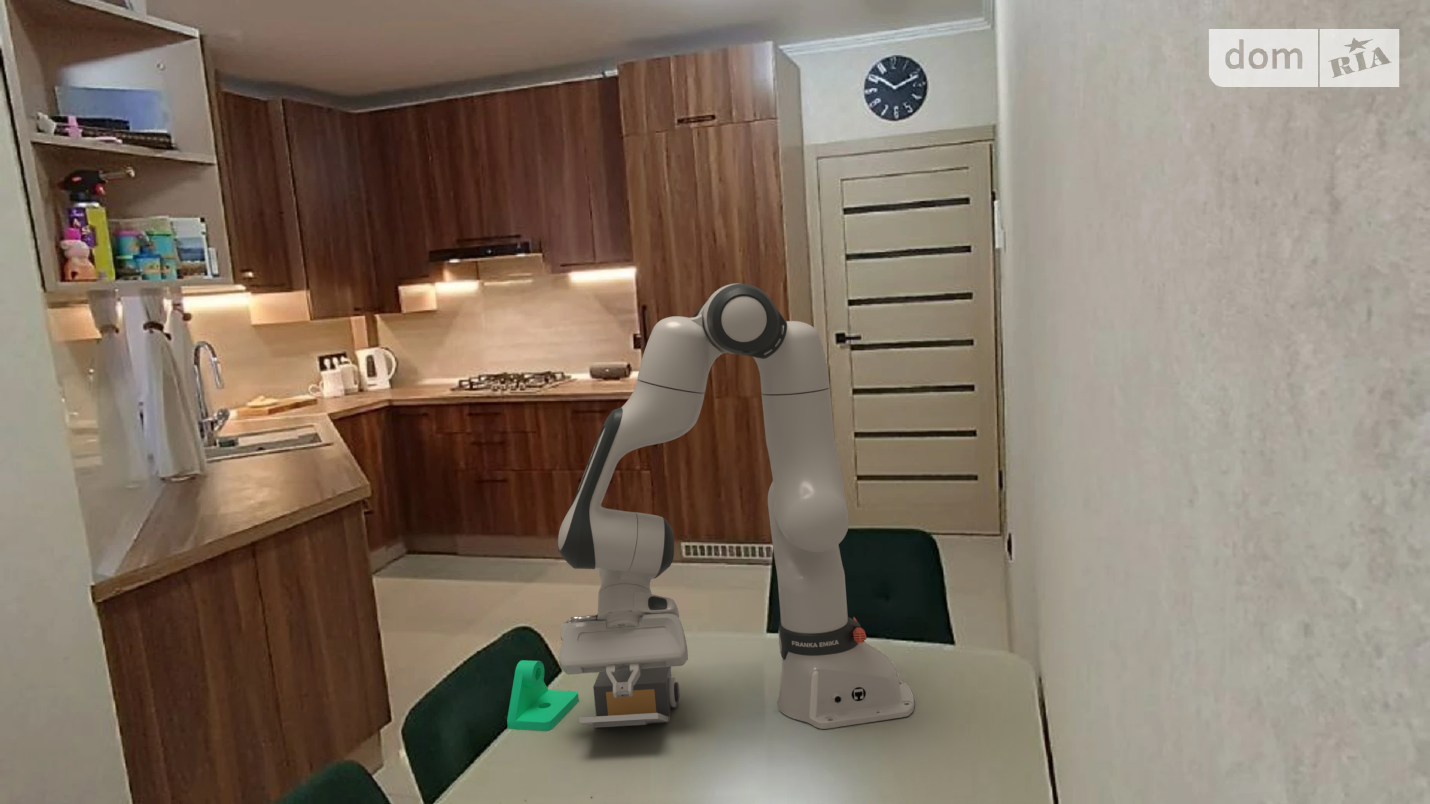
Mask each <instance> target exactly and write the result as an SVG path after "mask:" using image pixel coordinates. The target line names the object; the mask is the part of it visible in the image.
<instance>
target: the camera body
mask: <svg viewBox="0 0 1430 804" xmlns="http://www.w3.org/2000/svg"><path fill="white" fill-rule="evenodd" d="M630 676H631V672H630V670H621V671H617V677H614V678H615V680H616V681H617V683H620V682H627V681H628V679H629V678H630ZM592 688H593V698H594V699H593V700H594V707H595V717H596V716H613V715H630V714H647V713H659V714H662V715H664V716H670V717H671V709H672V708H677V704H678V703H679V702H680V685H679V682H678V681H677V680H676V677H675V676H674V677H673V676H672V667H660V668H647V669H641V674H640V677H639V678H638V680H637V682H636V683H635V685H634V686H633V696H627V697H615V698H614V696H613V684H612V683H611V681H610V679H609V677H608V675H607V673H606V672H598V675H597V677H596V679H595V683H594V684H593V687H592Z"/></svg>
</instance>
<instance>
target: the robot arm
mask: <svg viewBox="0 0 1430 804" xmlns="http://www.w3.org/2000/svg"><path fill="white" fill-rule="evenodd" d="M648 337H649V338H648V340H647V342H646V346H645V349H644V352H643V355H642V356H641V357H642V359H641V361H640V365H639V369H638V372H637V379H636V382H635V386H634V388H633V391H632V392H631V395H630V397H629V398H628V399H627V401H626V402H625V403H624V404H623V405H622V406H621V407H619V408H615V409H612V411H610V413H609V414H608V416H607V418H606V419H605V421H604V424H603V425H602V427H601V430H600V432H599V434H598V436H597V439H596V441H595V444H594V447H593V448H592V452H591V454H590V456H589V459H588V462H587V465H586V467H585V470H584V472H583V475H582V477H581V480H580V482H579V485H578V488H577V490H576V493H575V495H574V498H573V500H572V503H571V504H570V506H569V509H568V510H567V513H566V515H565V517H564V519H563V520H562V522H561V525H560V527H559V532H558V538H557V545H558V546H557V550H558V553H559V554H560V556H561V557H562V558H563V559H564V561H566V563H567V564H568V565H569V566H570V567H572V568H573V569H574V570H575V569H576V570H577V569H578V570H580V569H581V570H595V569H597V570H599V571H598V572H599V574H598V575H599V577H600V588H599V590H598V596H597V597H598V598H597V614H589V615H584V616H578V615H575V616H572V617H570V619H567V620H566V621H564V622H563V623H562V625H561V627H560V639H561V645H560V649H559V656H558V664H559V666H560V668H561V669H562V671H563V672H564V673H565V674H566V675H581V674H593V673H599V672H606V673H607V675H608V677H609V679H610V681H611V683H612V684H613V696H614V698H615V697H627V696H633V686H634V685H635V683H636V682H637V680H638V678H639V677H640V674H641V669H647V668H660V667H671V668H672V667H683V666H684V665H685V664H686V663H687V662H688V660H689V654H688V652H689V651H688V644H687V639H686V635H685V630H684V627H683V624H682V621H681V620H680V613H679V609H678V606H677V603H676V602H675V600H674V599H672V598H670V597H666V596H661V595H656V594H652V591H651V582H652V581H651V580H654V579H657V578H658V577H659V576H661V575H662V574H663V573H665V571H666V570H667V569H668V568H670V567H671V565H672V563H673V561H674V556H675V531H674V530H673V527H672V526H671V524H670V523H669V521H668V520H667V519H666V518H665V517H664V516H660V515H656V514H652V513H651V514H650V513H644V512H637V511H634V512H633V511H625V510H619V509H612V508H606V507H603V506H602V503H603V501H604V499H605V496H606V494H607V493H606V492H607V490H608V487H609V485H610V482H611V481H612V477H613V475H614V472H615V470H616V468H617V464H618V463H619V462H620V460H621V459H622V458H623V457H625V455H626V454H628V453H631V452H632V451H635V450H637V449H640V448H644V447H648V446H654V445H658V444H663V443H668V442H670V441H673V440H676V439H678V438H680V437H682V436H684V435H685V434H687V433H688V432H689V431H691V429H693V427H694V426H695V425H696V424H697V421H698V420H699V417H700V414H701V411H702V407H703V403H704V399H705V394H706V391H707V390H706V389H707V382H708V378H709V374H710V371H711V368H712V366H713V364H714V362H715V361H716V359H718V358H719V357H720V356H721V355H723V354H731V355H732V354H733V355H739V356H747V357H752V358H753V359H754V361H755V363H756V365H757V368H758V371H759V377H760V391H761V400H762V401H761V403H762V411H763V423H764V424H763V425H764V434H765V435H764V436H765V443H766V448H767V452H768V457H769V458H768V459H769V463H770V465H769V466H770V470H771V476H772V482H771V484H770V486H769V488H768V489H769V490H768V493H767V506H768V516H769V525H770V534H771V541H772V549H773V557H774V563H775V569H776V576H777V587H778V600H779V601H778V602H779V612H780V621H779V622H778V631H777V632H778V644H779V645H778V646H779V653H780V657H781V659H782V663H781V664H782V666H781V667H782V668H781V682H780V689H779V695H778V697H777V698H778V699H777V702H776V703H777V706H776V707H777V708H778V710H779V711H780V712H781V713H782V714H784V715H785V716H787V717H789V718H791V719H794V720H798V721H801V722H804V723H805V722H806V723H808V724H810V725H811V726H813V727H815V728H818V729H822V730H827V729H833V728H839V727H846V726H853V725H860V724H867V723H873V722H879V721H880V722H881V721H886V720H893V719H900V718H905V717H909V716H910V715H911V714H912V713H913V712H914V709H915V698H914V695H913V691H912V690H911V688H910V686H909V685H908V684H907V683H906V682H905V681H904V680H902V679H900V678H899V676H898V673H897V669H896V668H895V666H894V663H893V662H892V660H891V659H890V658H889V657H888V656H887V655H886V653H884V652H882V651H880V650H878V648H877V649H876V648H875V647H874V646H873V645H871V644H869V643H867V642H866V641H865V640H867V635H866V631H865V629H864V628H862V627H861V624H860V622H858V620H857V619H856V617H855V616H853V618H852V617H849V616H848V604H847V590H846V589H847V588H846V575H845V570H844V569H845V568H844V566H843V562H842V561H843V560H842V557H841V551H840V546H839V544H840V543H841V542H842V541H843V540H844V539H845V537H846V535H847V532H848V529H849V526H850V525H849V524H850V520H849V518H850V516H849V510H848V505H847V499H846V492H845V487H844V479H843V474H842V468H841V464H840V459H839V453H838V449H837V443H836V439H835V438H836V436H835V431H834V429H835V428H834V421H833V420H834V419H833V406H832V398H831V397H832V395H831V386H830V379H829V378H830V377H829V371H828V365H827V360H826V355H825V351H824V347H823V344H822V340H821V339H822V338H821V337H820V334H819V331H817V329H816V328H815V327H814V326H812V325H810V324H809V323H806V322H803V321H799V320H786V319H785V318H784V316H783V315H782V313H781V312H780V311H779V309H778V308H777V306H776V304H775V303H774V302H773V300H772V299H771V297H770V296H769V295H768V294H767V293H766V292H765V291H764V290H762V289H761V288H759V287H757V286H755V285H751V284H749V283H739V282H738V283H730V284H726V285H723V286H722V287H720V288H718V289H716V291H714V292H712V294H711V295H710V297H708V298H707V300H706V301H705V302H704V303H703V305H702V306H701V307H700V308H699V309H698V310H697V311H696V313H695V314H694V315H693V316H692V317H687V316H679V315H677V316H673V315H672V316H669V317H665V318H662V319H661V320H659V321H658V322H656V324H655V325H654V326H653V328H652V329H651V333H650V335H649V336H648ZM621 670H630V672H631V676H630V678H629V679H628V681H627V682H620V683H617V681H616V680H615V678H614V677H617V671H621Z"/></svg>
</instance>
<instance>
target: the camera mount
mask: <svg viewBox="0 0 1430 804" xmlns="http://www.w3.org/2000/svg"><path fill="white" fill-rule="evenodd" d="M545 674H546V673H545V666H544V663H543V662H542V660H541V661H540V660H527V659H526V660H525V659H523V660H522V659H521V660H520V661H519V662H518V663H517V664H516V667H515V670H514V678H513V681H512V682H513V683H512V689H511V695H510V700H509V707H508V712H507V719H506V721H507V722H506V724H507V729H508V730H509V729H510V730H523V731H527V730H528V731H537V732H538V731H540V732H547V731H551V730H553V729H554V728H555V727H556V725H558V724H559V723H560V721H561V720H562V719H563V718H564V717H565V716H566V715H567V714H569V712H570V711H571V710H572V709H573V708H574V707H575V706H576V705H577V704H578V703H579V702H580V701H579V699H580V698H579V692H578V691H576V690H562V689H560V690H559V689H558V690H557V689H556V690H555V689H549V688H548V686H547V685H546V683H545V681H544V678H545Z"/></svg>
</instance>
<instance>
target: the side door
mask: <svg viewBox="0 0 1430 804" xmlns="http://www.w3.org/2000/svg"><path fill="white" fill-rule="evenodd" d="M670 720H671V715H670V716H664V715H662V714H659V713H647V714H630V715H613V716H596V715H595V716H583V717H578V723H579V724H581V725H587V726H592V728H594V729H595V728H597V729H598V728H612V727H613V728H614V727H626V726H627V727H629V726H646V725H649V724H664V723H665V724H666V723H670Z"/></svg>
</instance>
